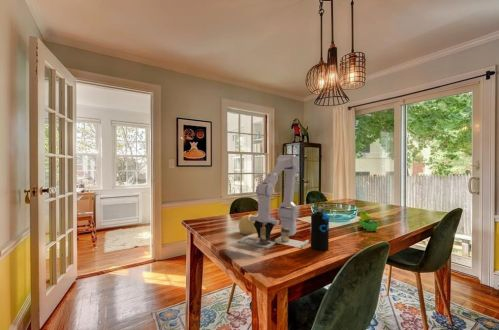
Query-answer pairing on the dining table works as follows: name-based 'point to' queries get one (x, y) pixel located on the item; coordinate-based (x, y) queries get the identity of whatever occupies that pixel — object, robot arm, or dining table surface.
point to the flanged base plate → (292, 242)
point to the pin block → (256, 242)
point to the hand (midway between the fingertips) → (263, 238)
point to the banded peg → (263, 235)
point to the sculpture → (247, 225)
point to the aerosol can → (319, 231)
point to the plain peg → (285, 234)
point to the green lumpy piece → (367, 222)
